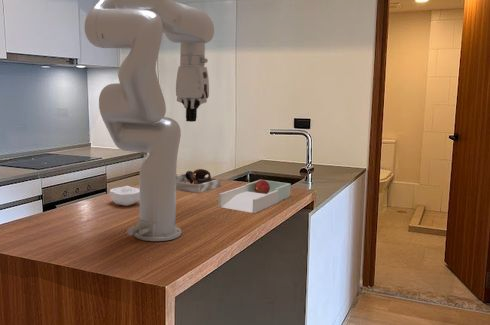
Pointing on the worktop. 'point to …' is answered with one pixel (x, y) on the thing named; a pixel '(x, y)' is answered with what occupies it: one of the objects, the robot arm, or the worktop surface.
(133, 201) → the cell model
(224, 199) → the white piece
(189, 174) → the pottery mug
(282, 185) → the tray
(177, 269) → the worktop surface
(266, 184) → the red round fruit
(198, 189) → the mug stand
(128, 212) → the worktop surface
